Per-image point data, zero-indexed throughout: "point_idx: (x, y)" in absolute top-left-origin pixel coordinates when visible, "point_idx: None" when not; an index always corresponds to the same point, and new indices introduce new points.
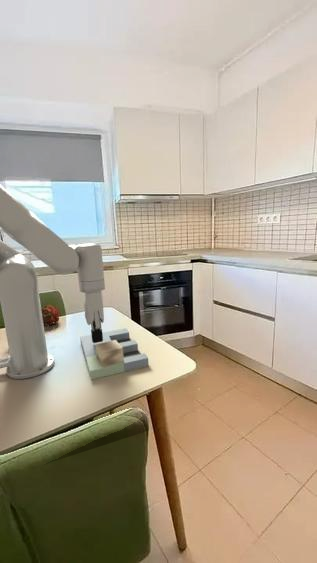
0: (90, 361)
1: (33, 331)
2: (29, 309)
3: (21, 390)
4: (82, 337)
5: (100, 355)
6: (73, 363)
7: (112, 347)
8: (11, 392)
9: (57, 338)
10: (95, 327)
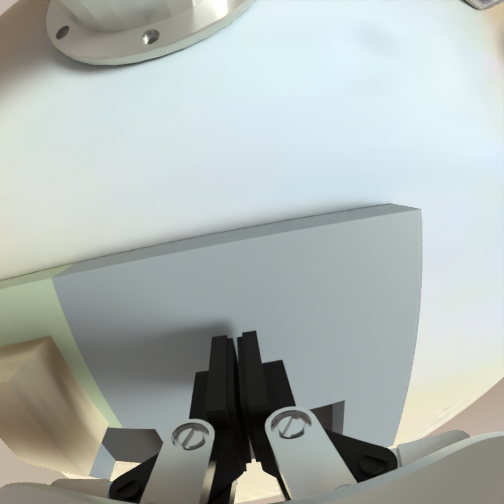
0: (18, 302)
1: None
2: None
3: (3, 38)
4: (402, 227)
5: None
6: (110, 177)
7: (9, 437)
8: (10, 16)
9: (467, 81)
10: (98, 491)
